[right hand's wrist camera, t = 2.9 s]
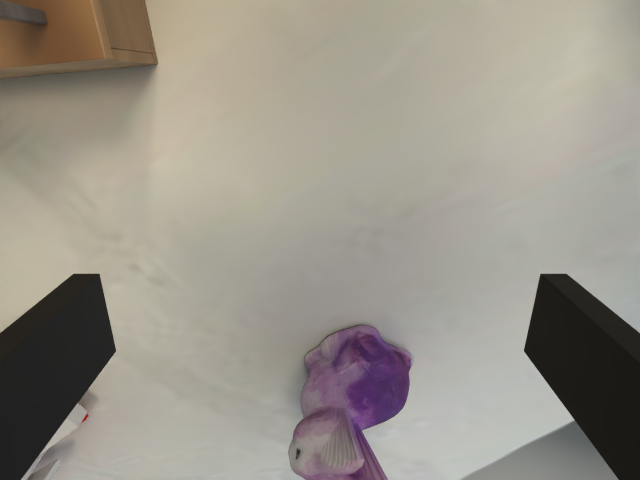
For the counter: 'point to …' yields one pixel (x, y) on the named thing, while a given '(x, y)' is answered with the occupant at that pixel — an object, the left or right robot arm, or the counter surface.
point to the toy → (70, 424)
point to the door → (51, 33)
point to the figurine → (347, 404)
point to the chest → (110, 41)
